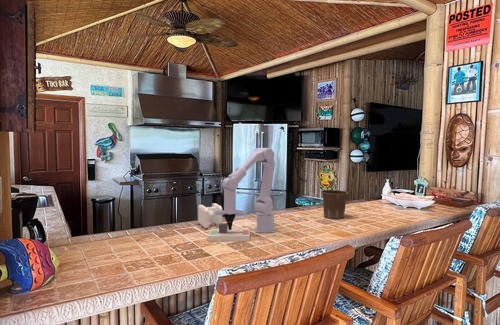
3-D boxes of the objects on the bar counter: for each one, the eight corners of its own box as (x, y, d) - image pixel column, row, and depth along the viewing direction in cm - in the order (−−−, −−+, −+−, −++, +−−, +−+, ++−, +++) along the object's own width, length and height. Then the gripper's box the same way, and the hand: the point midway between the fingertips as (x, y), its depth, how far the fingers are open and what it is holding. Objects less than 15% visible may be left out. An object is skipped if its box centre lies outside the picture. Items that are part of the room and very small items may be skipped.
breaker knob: (227, 230, 157) (227, 223, 157) (226, 232, 154) (226, 224, 154) (219, 230, 157) (219, 223, 157) (218, 232, 154) (218, 224, 154)
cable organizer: (223, 228, 174) (223, 207, 173) (204, 230, 169) (204, 208, 168) (214, 221, 187) (214, 202, 186) (197, 223, 183) (197, 204, 182)
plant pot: (350, 216, 200) (351, 191, 199) (343, 221, 186) (344, 194, 185) (325, 213, 209) (326, 189, 208) (317, 218, 195) (317, 192, 194)
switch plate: (250, 233, 162) (250, 229, 162) (249, 241, 150) (249, 236, 150) (211, 233, 162) (211, 229, 162) (207, 241, 150) (207, 235, 150)
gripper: (214, 203, 151) (214, 231, 152) (244, 203, 151) (244, 231, 151) (216, 201, 158) (216, 227, 159) (244, 201, 158) (244, 227, 159)
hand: (230, 229), depth 156 cm, fingers closed
